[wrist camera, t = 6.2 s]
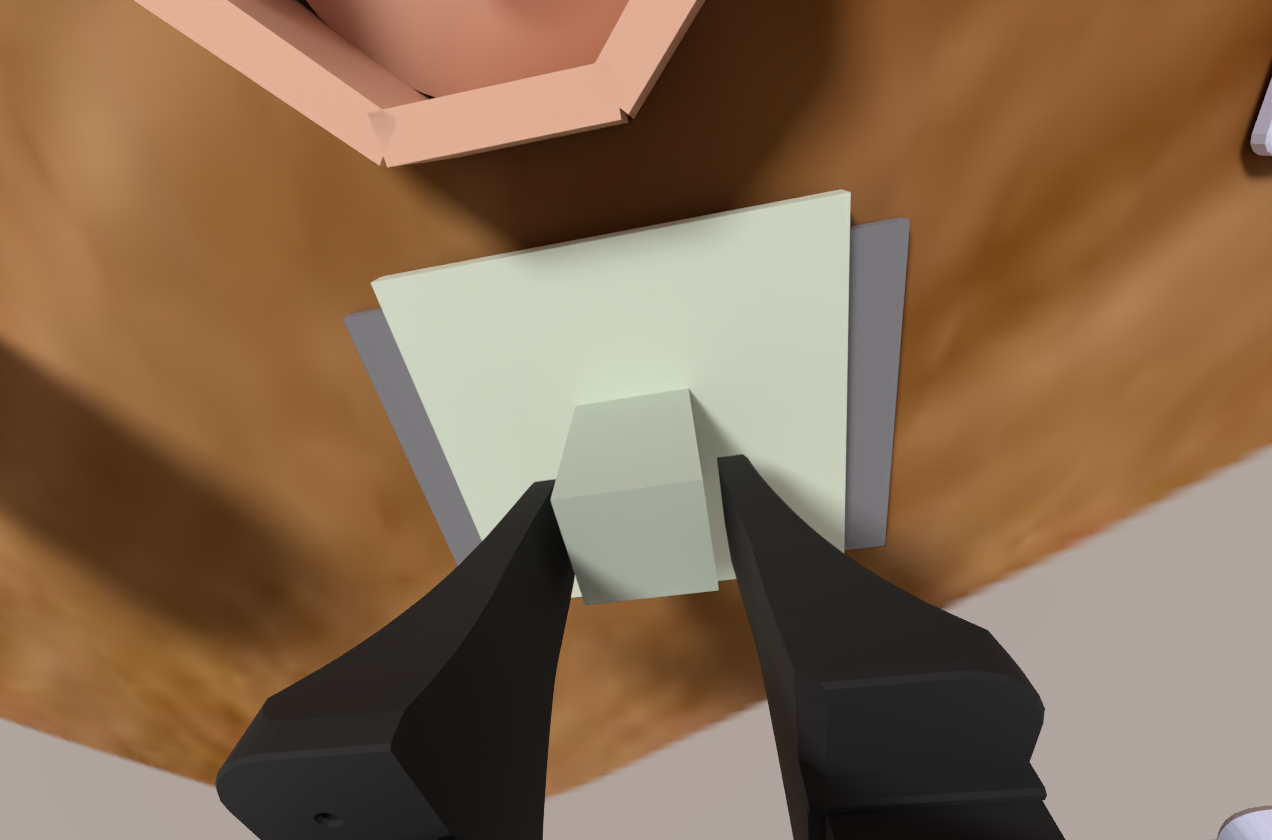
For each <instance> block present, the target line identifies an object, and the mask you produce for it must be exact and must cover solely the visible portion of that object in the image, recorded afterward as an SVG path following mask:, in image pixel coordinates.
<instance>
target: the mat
mask: <svg viewBox="0 0 1272 840" xmlns="http://www.w3.org/2000/svg"><path fill="white" fill-rule="evenodd" d="M909 228H910V219H907V218H904V217H900V218H894V219H888V220H882V221H877V222H871V223H865V224H860V225H854V226H850V253H849V311H848V368H847V425H846V483H845V540H844V550H851V549H860V548H869V547H878V546H885V537H886V525H887V512H888V499H889V486H890V473H891V460H892V447H893V434H894V421H895V409H896V396H897V383H898V370H899V357H900V344H901V331H902V318H903V305H904V293H905V280H906V267H907V254H908V241H909ZM342 319H343V321H344V323H345V325H346V327H347V329H348V332H349V334H350V336H351V338H352V340H353V342H354V344H355V347H356V349H357V351H358V353H359V355H360V357H361V359H362V362H363V364H364V366H365V368H366V370H367V372H368V374H369V377H370V379H371V381H372V383H373V385H374V387H375V389H376V392H377V394H378V396H379V398H380V400H381V402H382V404H383V407H384V409H385V411H386V413H387V415H388V417H389V419H390V422H391V424H392V426H393V428H394V430H395V432H396V434H397V437H398V439H399V441H400V443H401V445H402V447H403V449H404V452H405V454H406V456H407V458H408V460H409V462H410V464H411V467H412V469H413V471H414V473H415V475H416V477H417V479H418V482H419V484H420V486H421V488H422V490H423V492H424V494H425V497H426V499H427V501H428V503H429V505H430V507H431V509H432V512H433V514H434V516H435V518H436V520H437V522H438V524H439V527H440V529H441V531H442V533H443V535H444V537H445V539H446V542H447V544H448V546H449V548H450V550H451V552H452V555H453V557H454V559H455V561H456V563H457V565H460V564H461V563H462V561H463V560H464V559H465V558H466V557H467V556H468V555H469V554H470V553H471V552H472V551H473V550H474V549H475V548H476V547H477V546H478V545H479V544H480V543H481V542H482V540H481V538H480V535H479V533H478V531H477V528H476V526H475V524H474V521H473V519H472V517H471V514H470V512H469V510H468V507H467V505H466V503H465V500H464V498H463V496H462V494H461V491H460V489H459V487H458V484H457V482H456V480H455V477H454V475H453V473H452V470H451V468H450V466H449V463H448V461H447V459H446V456H445V454H444V452H443V449H442V447H441V445H440V443H439V440H438V438H437V436H436V433H435V431H434V429H433V426H432V424H431V422H430V419H429V417H428V415H427V412H426V410H425V408H424V405H423V403H422V401H421V399H420V396H419V394H418V392H417V389H416V387H415V385H414V382H413V380H412V378H411V375H410V373H409V371H408V368H407V366H406V364H405V361H404V359H403V357H402V354H401V352H400V350H399V348H398V345H397V343H396V341H395V338H394V336H393V334H392V331H391V329H390V327H389V324H388V322H387V320H386V317H385V315H384V313H383V310H382V308H379V309H374V310H368V311H362V312H356V313H351V314H349V315H347V316H345V317H344V318H342Z"/></svg>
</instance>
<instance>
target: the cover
mask: <svg viewBox="0 0 1272 840" xmlns="http://www.w3.org/2000/svg"><path fill="white" fill-rule="evenodd" d="M850 196H851V192H848V191H845V190H842V189H841V190H836V191H830V192H825V193H820V194H814V195H809V196H804V197H799V198H793V199H788V200H783V201H778V202H772V203H767V204H762V205H756V206H751V207H746V208H741V209H735V210H730V211H725V212H720V213H714V214H709V215H704V216H699V217H693V218H688V219H683V220H677V221H672V222H667V223H662V224H656V225H651V226H646V227H641V228H635V229H630V230H625V231H619V232H614V233H609V234H604V235H598V236H593V237H588V238H583V239H577V240H572V241H567V242H562V243H556V244H551V245H546V246H540V247H535V248H530V249H525V250H519V251H514V252H509V253H504V254H498V255H493V256H488V257H483V258H477V259H472V260H467V261H461V262H456V263H451V264H446V265H440V266H435V267H430V268H425V269H419V270H414V271H409V272H403V273H398V274H393V275H388V276H382V277H380V278H378V279H377V280H375V281H373V282H371V285H372V287H373V290H374V292H375V294H376V297H377V299H378V301H379V304H380V306H381V308H382V310H383V313H384V315H385V317H386V320H387V322H388V324H389V327H390V329H391V331H392V334H393V336H394V338H395V341H396V343H397V345H398V348H399V350H400V352H401V354H402V357H403V359H404V361H405V364H406V366H407V368H408V371H409V373H410V375H411V378H412V380H413V382H414V385H415V387H416V389H417V392H418V394H419V396H420V399H421V401H422V403H423V405H424V408H425V410H426V412H427V415H428V417H429V419H430V422H431V424H432V426H433V429H434V431H435V433H436V436H437V438H438V440H439V443H440V445H441V447H442V449H443V452H444V454H445V456H446V459H447V461H448V463H449V466H450V468H451V470H452V473H453V475H454V477H455V480H456V482H457V484H458V487H459V489H460V491H461V494H462V496H463V498H464V500H465V503H466V505H467V507H468V510H469V512H470V514H471V517H472V519H473V521H474V524H475V526H476V528H477V531H478V533H479V535H480V538H481V540H482V541H483V540H484V539H485V538H486V537H487V535H488V534H489V533H490V532H491V531H492V530H493V529H494V528H495V526H496V525H497V524H498V523H499V522H500V521H501V520H502V518H503V517H504V516H505V515H506V514H507V513H508V512H509V510H510V509H511V508H512V507H513V506H514V504H515V503H516V502H517V501H518V500H519V499H520V497H521V496H522V495H523V494H524V493H525V492H526V490H527V489H528V488H529V487H530V486H531V485H532V484H533V483H534V482H538V481H545V480H553V479H556V481H555V485H554V488H553V492H552V496H551V500H550V501H551V504H552V507H553V510H554V513H555V516H556V519H557V522H558V525H559V528H560V531H561V534H562V537H563V540H564V543H565V546H566V549H567V552H568V555H569V558H570V561H571V564H572V567H573V570H574V573H575V579H574V584H573V590H572V595H571V598H573V597H581V596H582V597H583V600H584V603H585V605H592V604H601V603H610V602H619V601H628V600H637V599H645V598H654V597H663V596H672V595H681V594H690V593H699V592H708V591H717V590H719V587H718V581H722V580H731V579H736V575H735V572H734V569H733V565H732V562H731V556H730V551H729V545H728V539H727V534H726V528H725V522H724V513H723V505H722V496H721V488H720V480H719V471H718V463H717V458H718V457H725V456H733V455H740V454H743V455H745V456H746V457H747V458H748V459H749V461H750V462H751V463H752V465H753V466H754V468H755V469H756V470H757V472H758V473H759V474H760V475H761V477H762V478H763V479H764V480H765V481H766V482H767V484H768V485H769V486H770V487H771V488H772V489H773V490H774V492H775V493H776V494H777V495H778V496H779V497H780V498H781V499H782V500H783V501H784V502H785V503H786V504H787V505H788V506H789V507H790V508H791V509H792V510H793V511H794V512H795V513H796V514H797V515H798V516H799V517H800V518H801V519H803V520H804V521H805V522H806V523H807V524H808V525H809V526H810V527H811V528H813V529H814V530H815V531H816V532H817V533H818V534H820V535H821V536H822V537H823V538H825V539H826V540H827V541H828V542H830V543H831V544H832V545H834V546H835V547H836V548H837V549H839V550H840V551H841V552H843V553H844V540H845V483H846V425H847V368H848V311H849V253H850Z"/></svg>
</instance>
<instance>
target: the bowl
mask: <svg viewBox="0 0 1272 840" xmlns="http://www.w3.org/2000/svg"><path fill="white" fill-rule="evenodd" d="M134 1H136V2H137V3H139V4H140V5H142V6H143V7H145V8H146V9H148V10H149V11H151V12H152V13H154V14H155V15H157V16H158V17H160V18H161V19H163V20H164V21H165V22H167V23H168V24H170V25H171V26H173V27H174V28H176V29H177V30H179V31H180V32H182V33H183V34H185V35H186V36H188V37H189V38H191V39H192V40H194V41H195V42H197V43H198V44H200V45H201V46H203V47H204V48H206V49H207V50H209V51H210V52H212V53H213V54H214V55H216V56H217V57H219V58H220V59H222V60H223V61H225V62H226V63H228V64H229V65H231V66H232V67H234V68H235V69H237V70H238V71H240V72H241V73H243V74H244V75H246V76H247V77H249V78H250V79H252V80H253V81H255V82H256V83H258V84H259V85H261V86H262V87H263V88H265V89H266V90H268V91H269V92H271V93H272V94H274V95H275V96H277V97H278V98H280V99H281V100H283V101H284V102H286V103H287V104H289V105H290V106H292V107H293V108H295V109H296V110H298V111H299V112H301V113H302V114H304V115H305V116H307V117H308V118H310V119H311V120H312V121H314V122H315V123H317V124H318V125H320V126H321V127H323V128H324V129H326V130H327V131H329V132H330V133H332V134H333V135H335V136H336V137H338V138H339V139H341V140H342V141H344V142H345V143H347V144H348V145H350V146H351V147H353V148H354V149H356V150H357V151H359V152H360V153H361V154H363V155H364V156H366V157H367V158H369V159H370V160H372V161H373V162H375V163H376V164H378V165H379V166H380V165H387V167H395V166H402V165H409V164H417V163H424V162H432V161H439V160H446V159H454V158H459V157H464V156H469V155H474V154H479V153H484V152H489V151H494V150H499V149H504V148H508V147H513V146H518V145H523V144H528V143H533V142H538V141H543V140H548V139H553V138H558V137H562V136H567V135H572V134H577V133H582V132H587V131H592V130H597V129H602V128H607V127H612V126H616V125H621V124H626V123H629V122H628V115H629V116H630V117H632V118H633V119H634V118H635V116H636V115H637V113H638V111H639V110H640V108H641V106H642V105H643V103H644V101H645V100H646V98H647V97H648V95H649V93H650V92H651V90H652V88H653V87H654V85H655V83H656V82H657V80H658V78H659V77H660V75H661V73H662V72H663V70H664V68H665V67H666V65H667V63H668V62H669V60H670V58H671V57H672V55H673V53H674V52H675V50H676V48H677V47H678V45H679V43H680V42H681V40H682V38H683V37H684V35H685V33H686V32H687V30H688V29H689V27H690V25H691V24H692V22H693V20H694V19H695V17H696V15H697V14H698V12H699V10H700V9H701V7H702V5H703V4H704V2H705V0H306V1H307V3H308V4H309V5H310V6H311V7H312V9H313V10H314V11H315V12H316V14H317V15H318V16H317V15H316V14H315V13H313V12H312V11H310V10H309V9H308V8H306V7H305V6H304V5H302V4H301V3H299V2H298V1H297V0H134ZM425 94H427V95H430V96H433V97H436V98H433V99H431V98H430V97H428V96H427V95H425ZM627 114H628V115H627Z"/></svg>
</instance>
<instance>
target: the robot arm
mask: <svg viewBox="0 0 1272 840" xmlns="http://www.w3.org/2000/svg"><path fill="white" fill-rule="evenodd" d="M1250 144H1251V147H1252V150H1253V152H1255V153H1256V154H1258V155H1264V156H1272V78H1271V81H1270V84H1269V87H1268V90H1267V93H1266V95H1265V98H1264V101H1263V104H1262V107H1261V110H1260V112H1259V115H1258V118H1257V121H1256V124H1255V127H1254V129H1253V132H1252V136H1251V142H1250ZM717 463H718V471H719V480H720V488H721V496H722V505H723V513H724V522H725V528H726V534H727V539H728V545H729V551H730V556H731V562H732V565H733V569H734V572H735V575H736V579H737V582H738V586H739V589H740V593H741V596H742V599H743V603H744V606H745V610H746V613H747V616H748V620H749V623H750V627H751V630H752V633H753V637H754V640H755V644H756V648H757V652H758V656H759V660H760V664H761V669H762V674H763V679H764V684H765V689H766V695H767V700H768V705H769V709H770V715H771V720H772V726H773V731H774V736H775V741H776V746H777V752H778V757H779V763H780V768H781V773H782V779H783V784H784V789H785V794H786V800H787V806H788V811H789V816H790V822H791V827H792V832H793V838H794V840H1065V838H1064V837H1063V835H1062V833H1061V832H1060V830H1059V828H1058V827H1057V825H1056V823H1055V821H1054V820H1053V818H1052V816H1051V815H1050V813H1049V811H1048V810H1047V808H1046V806H1045V804H1044V803H1043V801H1042V800H1045V799H1046V796H1047V794H1046V790H1045V787H1044V785H1043V784H1042V782H1041V780H1040V779H1039V777H1038V775H1037V774H1036V772H1035V770H1034V769H1033V767H1032V766H1031V764H1030V759H1031V756H1032V753H1033V751H1034V748H1035V745H1036V742H1037V739H1038V736H1039V734H1040V731H1041V728H1042V725H1043V720H1044V711H1045V708H1044V706H1043V703H1042V701H1041V699H1040V696H1039V694H1038V693H1037V691H1036V690H1035V689H1034V687H1033V686H1032V684H1031V683H1030V681H1029V680H1028V678H1027V677H1026V676H1025V674H1024V673H1023V671H1022V670H1021V669H1020V667H1019V666H1018V665H1017V664H1016V662H1015V661H1014V660H1013V659H1012V658H1011V656H1010V655H1009V654H1008V653H1007V652H1006V651H1005V649H1004V648H1003V647H1002V646H1001V645H1000V644H999V643H998V641H997V640H996V639H995V638H994V637H993V636H992V634H991V633H990V632H989V631H988V630H986V629H984V628H981V627H979V626H977V625H975V624H972V623H970V622H968V621H966V620H964V619H961V618H959V617H957V616H955V615H952V614H950V613H948V612H946V611H943V610H941V609H939V608H937V607H935V606H932V605H930V604H928V603H926V602H924V601H923V600H921V599H919V598H917V597H915V596H913V595H911V594H909V593H907V592H905V591H904V590H902V589H900V588H898V587H896V586H894V585H893V584H891V583H889V582H888V581H886V580H884V579H883V578H881V577H879V576H878V575H876V574H875V573H873V572H871V571H870V570H868V569H866V568H865V567H863V566H862V565H860V564H858V563H857V562H856V561H854V560H853V559H851V558H850V557H848V556H847V555H846V554H844V553H843V552H841V551H840V550H839V549H837V548H836V547H835V546H834V545H832V544H831V543H830V542H828V541H827V540H826V539H825V538H823V537H822V536H821V535H820V534H818V533H817V532H816V531H815V530H814V529H813V528H811V527H810V526H809V525H808V524H807V523H806V522H805V521H804V520H803V519H801V518H800V517H799V516H798V515H797V514H796V513H795V512H794V511H793V510H792V509H791V508H790V507H789V506H788V505H787V504H786V503H785V502H784V501H783V500H782V499H781V498H780V497H779V496H778V495H777V494H776V493H775V492H774V490H773V489H772V488H771V487H770V486H769V485H768V484H767V482H766V481H765V480H764V479H763V478H762V477H761V475H760V474H759V473H758V472H757V470H756V469H755V468H754V466H753V465H752V463H751V462H750V461H749V459H748V458H747V457H746V456H745V455H743V454H740V455H733V456H725V457H718V458H717ZM555 481H556V479H553V480H545V481H538V482H534V483H533V484H532V485H531V486H530V487H529V488H528V489H527V490H526V492H525V493H524V494H523V495H522V496H521V497H520V499H519V500H518V501H517V502H516V503H515V504H514V506H513V507H512V508H511V509H510V510H509V512H508V513H507V514H506V515H505V516H504V517H503V518H502V520H501V521H500V522H499V523H498V524H497V525H496V526H495V528H494V529H493V530H492V531H491V532H490V533H489V534H488V535H487V537H486V538H485V539H484V540H483V541H482V542H481V543H480V544H479V545H478V546H477V547H476V548H475V549H474V550H473V551H472V552H471V553H470V554H469V555H468V556H467V557H466V558H465V559H464V560H463V561H462V563H461V564H460V565H458V566H457V567H456V568H455V569H454V570H453V571H452V572H451V573H450V574H449V575H448V576H447V577H446V578H445V579H444V580H442V581H441V582H440V583H439V584H438V585H437V586H436V587H434V588H433V589H432V590H431V591H430V592H429V593H427V594H426V595H425V596H424V597H423V598H421V599H420V600H419V601H418V602H416V603H415V604H414V605H413V606H411V607H410V608H409V609H407V610H406V611H405V612H403V613H402V614H401V615H399V616H398V617H397V618H395V619H394V620H393V621H392V622H390V623H389V624H388V625H386V626H385V627H384V628H382V629H381V630H379V631H378V632H377V633H375V634H374V635H372V636H371V637H369V638H368V639H366V640H365V641H363V642H362V643H360V644H359V645H357V646H356V647H354V648H353V649H351V650H350V651H348V652H347V653H345V654H343V655H342V656H340V657H339V658H337V659H336V660H334V661H332V662H331V663H329V664H327V665H326V666H324V667H322V668H321V669H319V670H317V671H315V672H314V673H312V674H310V675H308V676H307V677H305V678H303V679H301V680H300V681H298V682H296V683H294V684H293V685H291V686H289V687H287V688H286V689H284V690H282V691H280V692H279V693H277V694H275V695H273V696H271V697H269V698H268V699H267V700H266V702H265V703H264V705H263V706H262V708H261V709H260V711H259V712H258V714H257V715H256V717H255V718H254V720H253V721H252V723H251V724H250V726H249V727H248V729H247V730H246V732H245V733H244V735H243V736H242V737H241V739H240V740H239V742H238V743H237V745H236V746H235V748H234V749H233V751H232V752H231V754H230V755H229V757H228V758H227V760H226V761H225V763H224V764H223V766H222V767H221V769H220V770H219V772H218V774H217V778H216V783H215V785H216V789H217V792H218V795H219V798H220V801H221V802H222V803H223V804H224V805H225V807H226V808H227V809H228V810H229V811H230V812H231V813H232V814H233V815H234V816H235V817H236V818H237V819H239V820H240V821H241V822H242V823H243V824H244V825H245V826H246V827H247V828H248V829H249V830H251V831H252V832H253V833H254V834H255V835H256V836H257V837H258V838H260V839H261V840H543V839H542V838H543V819H544V803H545V787H546V771H547V758H548V746H549V734H550V722H551V712H552V702H553V692H554V682H555V676H556V670H557V663H558V658H559V654H560V649H561V644H562V639H563V634H564V629H565V624H566V619H567V615H568V610H569V605H570V600H571V595H572V590H573V584H574V579H575V573H574V570H573V567H572V564H571V561H570V558H569V555H568V552H567V549H566V546H565V543H564V540H563V537H562V534H561V531H560V528H559V525H558V522H557V519H556V516H555V513H554V510H553V507H552V504H551V501H550V500H551V496H552V492H553V488H554V485H555ZM1217 840H1272V806H1262V807H1255V808H1249V809H1246V810H1243V811H1240V812H1238V813H1235V814H1233V815H1232V816H1231V817H1229V818H1228V819H1227V820H1226V821H1225V822H1224V823H1223V825H1222V826H1221V828H1220V831H1219V832H1218V836H1217Z"/></svg>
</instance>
